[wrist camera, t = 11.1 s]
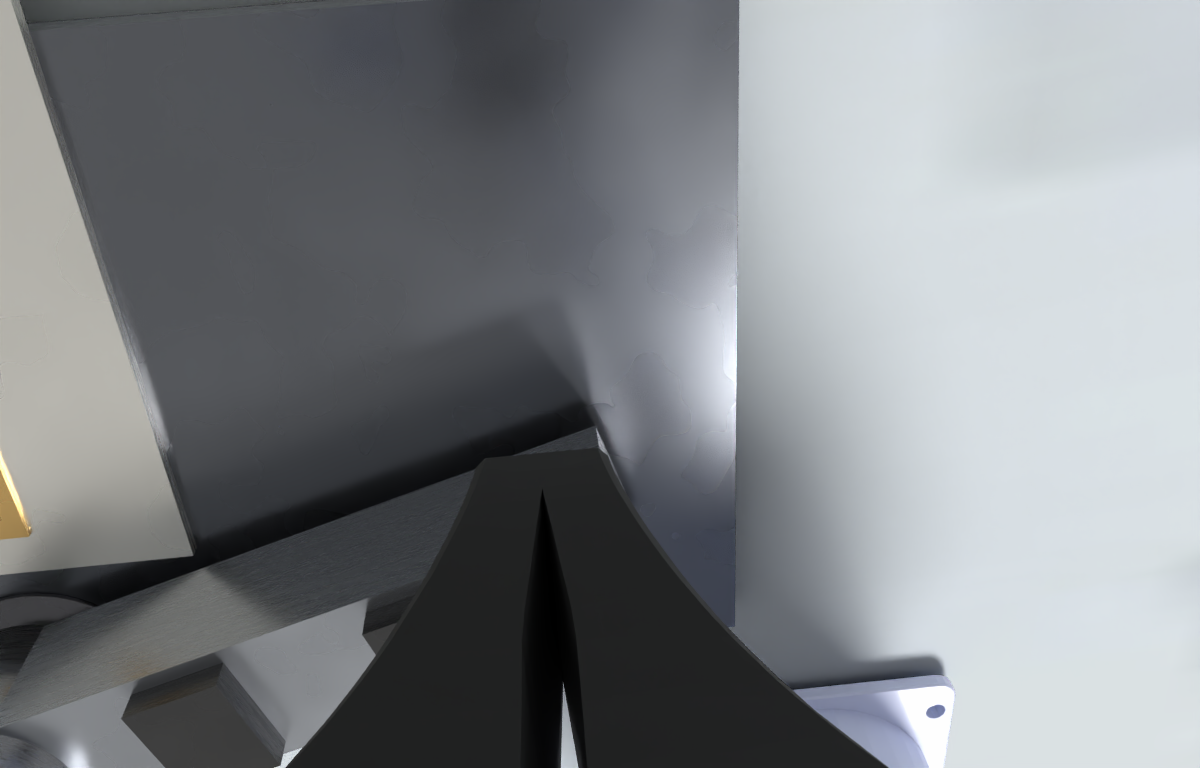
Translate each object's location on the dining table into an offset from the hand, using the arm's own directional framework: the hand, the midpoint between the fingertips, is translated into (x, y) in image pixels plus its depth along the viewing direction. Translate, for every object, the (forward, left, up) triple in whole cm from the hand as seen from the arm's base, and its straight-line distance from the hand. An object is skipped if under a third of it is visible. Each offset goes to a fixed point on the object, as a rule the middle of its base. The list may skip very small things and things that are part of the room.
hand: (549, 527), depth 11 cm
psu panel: (-4, +6, -10) cm, 13 cm away
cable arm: (-8, +6, -9) cm, 14 cm away
